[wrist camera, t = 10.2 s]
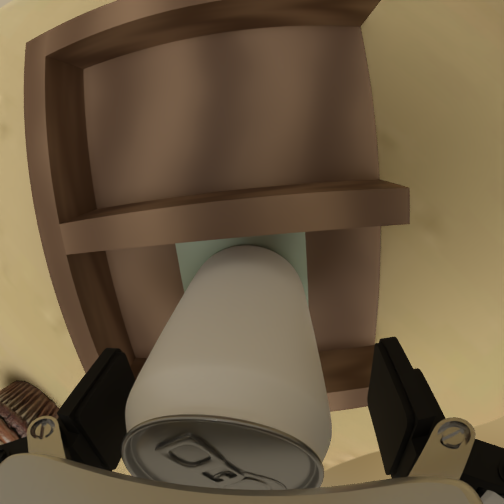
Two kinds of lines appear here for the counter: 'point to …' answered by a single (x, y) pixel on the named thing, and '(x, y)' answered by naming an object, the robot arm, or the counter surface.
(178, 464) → the can
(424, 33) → the counter surface
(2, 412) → the cupcake
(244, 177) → the tray
